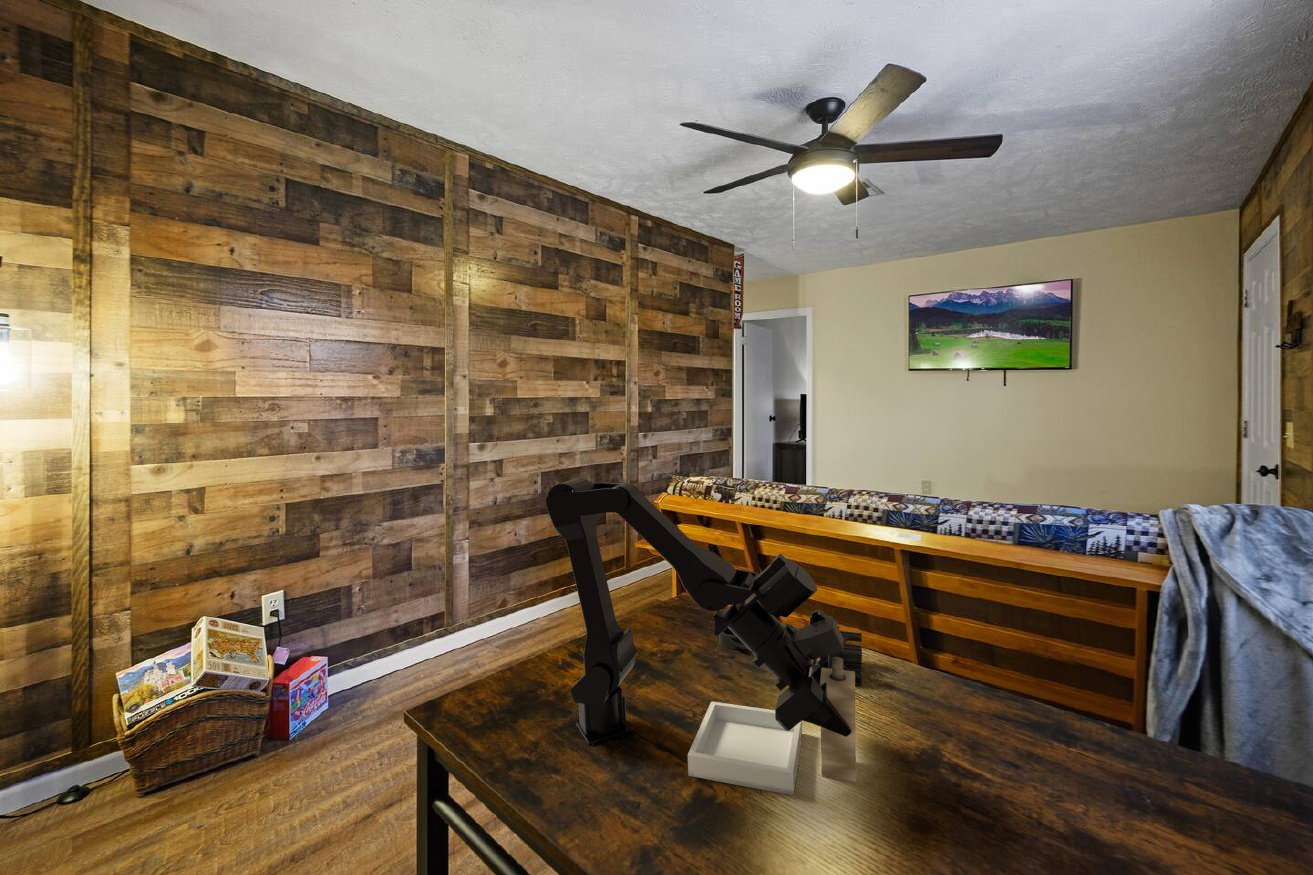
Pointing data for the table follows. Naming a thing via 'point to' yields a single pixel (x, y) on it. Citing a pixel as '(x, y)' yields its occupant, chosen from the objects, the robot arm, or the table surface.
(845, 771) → the wooden square post
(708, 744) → the white square tray
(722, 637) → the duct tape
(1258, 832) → the table surface
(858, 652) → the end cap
